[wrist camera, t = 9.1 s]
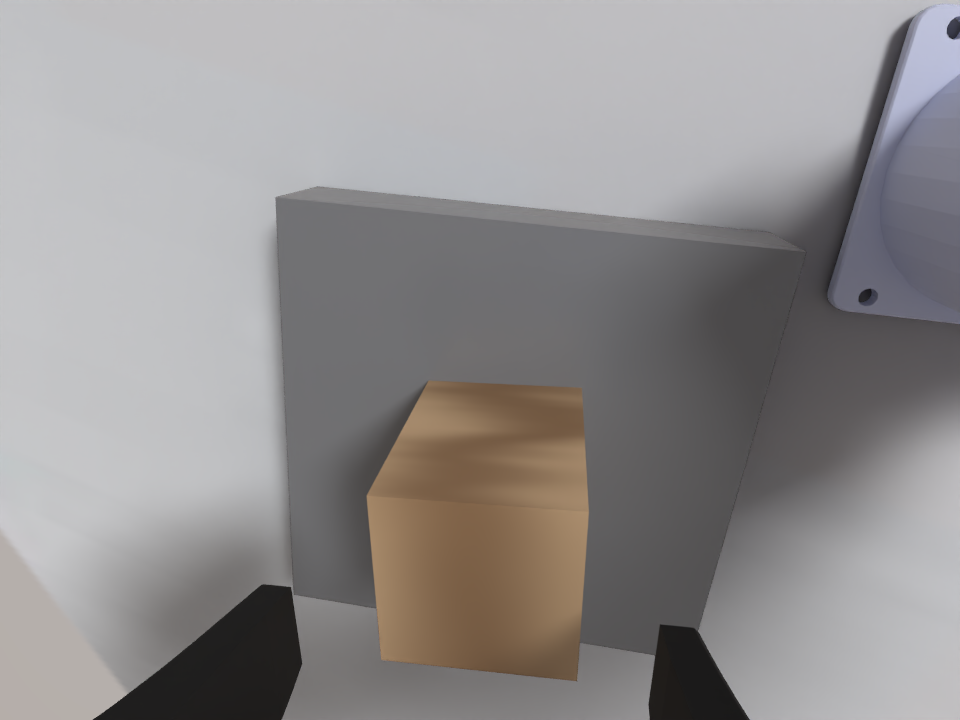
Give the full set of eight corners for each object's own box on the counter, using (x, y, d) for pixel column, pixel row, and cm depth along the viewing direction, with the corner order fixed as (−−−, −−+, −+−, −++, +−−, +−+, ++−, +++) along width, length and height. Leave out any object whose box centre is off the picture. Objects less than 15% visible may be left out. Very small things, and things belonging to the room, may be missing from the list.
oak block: (581, 387, 17) (588, 512, 12) (574, 518, 19) (576, 680, 13) (428, 380, 18) (366, 495, 12) (433, 507, 20) (381, 659, 14)
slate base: (769, 232, 18) (806, 251, 15) (674, 596, 23) (689, 660, 20) (317, 186, 19) (275, 197, 16) (324, 541, 24) (293, 594, 22)
